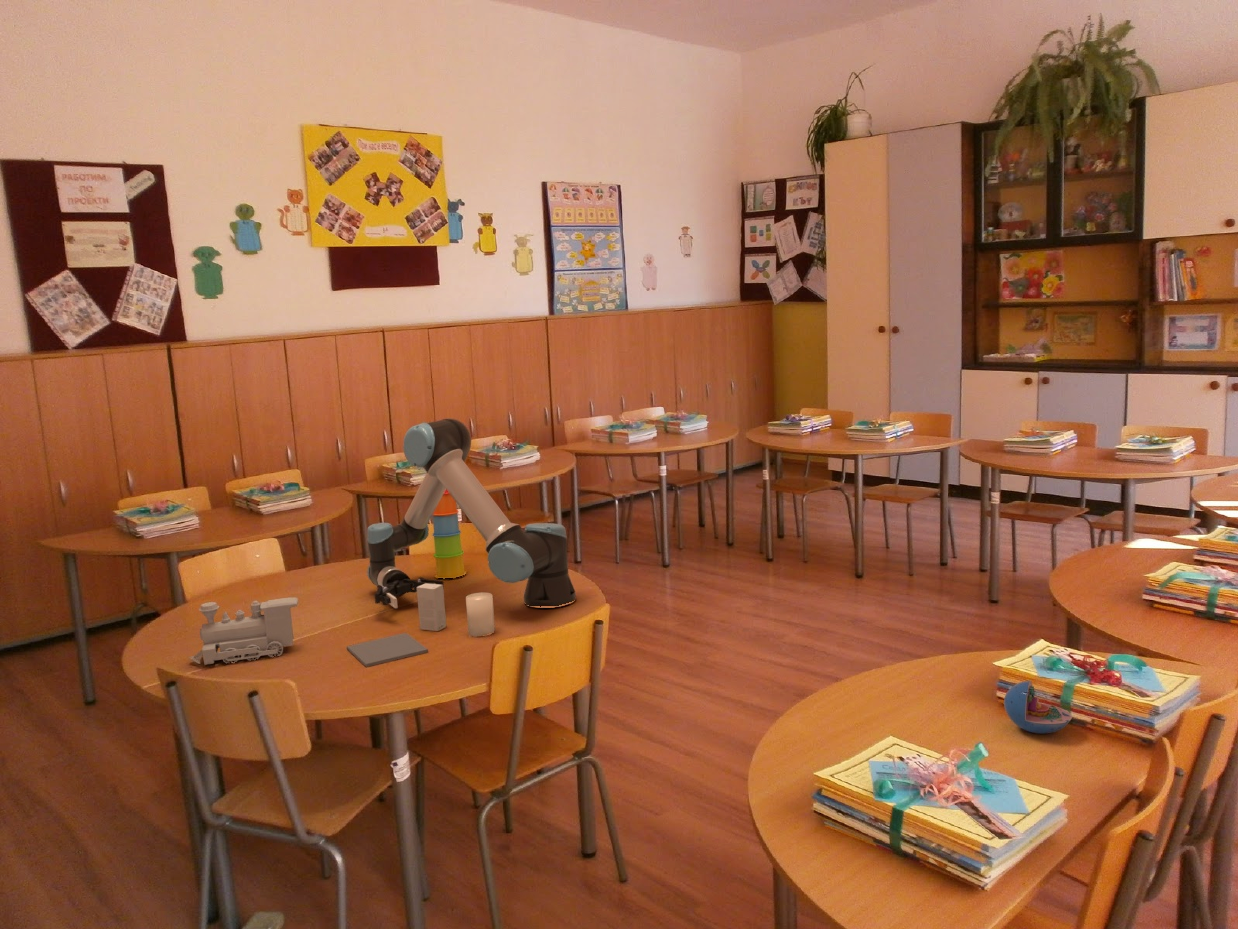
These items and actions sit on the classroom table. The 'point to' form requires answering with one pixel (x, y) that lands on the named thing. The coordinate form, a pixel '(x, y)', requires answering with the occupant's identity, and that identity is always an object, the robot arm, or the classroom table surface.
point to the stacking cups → (447, 539)
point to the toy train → (246, 631)
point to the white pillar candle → (480, 614)
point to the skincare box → (431, 607)
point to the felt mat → (386, 649)
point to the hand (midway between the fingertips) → (419, 598)
